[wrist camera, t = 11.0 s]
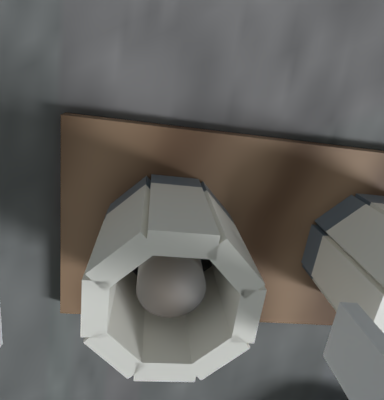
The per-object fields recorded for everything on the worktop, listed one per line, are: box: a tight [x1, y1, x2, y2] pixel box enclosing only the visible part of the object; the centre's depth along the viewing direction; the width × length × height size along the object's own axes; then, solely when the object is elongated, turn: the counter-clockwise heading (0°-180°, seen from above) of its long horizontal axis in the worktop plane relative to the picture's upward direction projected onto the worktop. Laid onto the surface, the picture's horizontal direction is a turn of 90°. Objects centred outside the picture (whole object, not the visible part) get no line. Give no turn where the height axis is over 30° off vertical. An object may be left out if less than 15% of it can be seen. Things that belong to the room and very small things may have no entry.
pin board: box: [60, 113, 384, 325], centre depth 18 cm, size 24×12×6 cm, turn 82°
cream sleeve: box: [80, 174, 267, 382], centre depth 17 cm, size 7×7×7 cm
